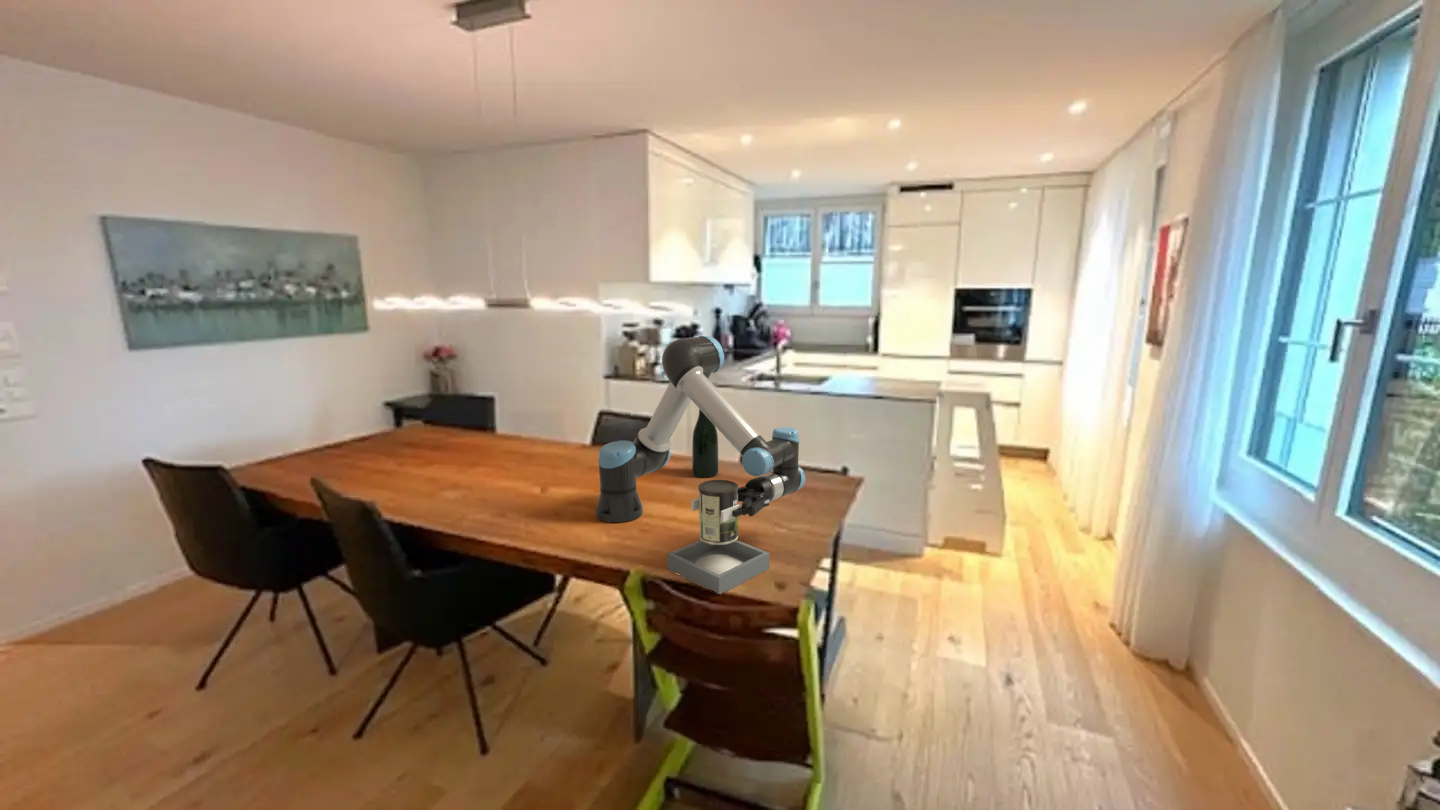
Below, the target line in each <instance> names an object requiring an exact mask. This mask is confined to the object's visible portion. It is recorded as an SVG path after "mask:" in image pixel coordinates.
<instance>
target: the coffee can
mask: <svg viewBox="0 0 1440 810" xmlns="http://www.w3.org/2000/svg"><path fill="white" fill-rule="evenodd" d="M697 487H698V488H697V489H698V498H699V509H698V511H699V512H698V513H699V514H698V516H699V517H698V521H699V522H698V523H699V536H698V538H699V540H701V541H702V542H704V543H707V544H711V545H726V544H730V543H733V542H735V541H736V540H738V538H739V516H738V517H734V518H732V519H730V520H727V521H725V522H721V511H722V510H725V509H728V508H730V507H733V506H735V505H738V503H739V502H738V488H739V484H738V483H736V482H735V481H731V480H727V479H710V480H706V481H703V482H700V483H699V485H698V486H697Z"/></svg>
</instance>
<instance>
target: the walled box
mask: <svg viewBox="0 0 1440 810" xmlns="http://www.w3.org/2000/svg"><path fill="white" fill-rule="evenodd" d="M770 554H771V553H770V552H768V551H767V550H766V551H765V550H763V549H760V548H758V547H756V546H753V545H751V544H747V543H745V542H743V541H741V540H738V539H737V540H736V541H735V542H733V543H730V544H726V545H711V544H707V543H704V542H702V541H701V540H700V539H699V540H697V541H695V542H692V543H689V544H687V545H685V546H683V547H681V548H678V549H676V550H673V551H672V552H668V553H667V570H668V569H669V570H671V571H673V572H675V573H678V574H680V575H681V576H680V575H679V576H680V577H682V576H683V577H682V578H684V577H685V578H684V579H686V578H687V579H686V580H688V579H689V580H688V581H690V580H691V581H690V582H692V581H693V582H692V583H694V582H695V583H694V584H696V583H697V584H696V585H698V584H699V585H698V586H700V585H701V587H702V586H704V587H706V588H709V589H711V590H713V591H715V592H716V593H717V594H716V593H715V594H716V595H718V594H720V595H722V594H724V593H726V592H728V591H729V590H732V589H734V588H735V587H737V586H739V585H742V584H743V583H746V582H747V581H749V580H751V579H753V578H755V577H756V576H759V575H760V574H762V573H764V572H765V571H767V570H770V564H771V563H770V558H771V557H770V556H771V555H770ZM669 570H668V571H669ZM671 571H670V572H671ZM673 572H672V573H673ZM675 573H674V574H675ZM704 587H703V588H704ZM706 588H705V589H706ZM727 590H728V591H727ZM725 591H726V592H725ZM723 592H724V593H723ZM721 593H722V594H721Z"/></svg>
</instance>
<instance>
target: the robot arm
mask: <svg viewBox="0 0 1440 810" xmlns="http://www.w3.org/2000/svg"><path fill="white" fill-rule="evenodd" d="M724 361H725V353H724V349H723V347H722V345H721V344H720V342H719V341H718V340H717V339H716V338H714V337H712V336H708V335H700V336H695V337H694V336H693V337H688V338H687V337H686V338H678V339H676V340H673V341H671V342H670V343H669V344H668V345H667V346H666V347H665V349H664V350H663V352H662V357H661V364H662V369H663V372H664V373H665V376H666V377H667V379H668V381H669V384H668V385H667V388H666V389H665V391H664V393H663V395H662V397H661V399H660V401H659V403H658V404H657V407H656V408H655V411H654V412H653V414H652V416H651V418H650V421H649V422H648V424H647V426H646V427H644V428H641V429H640V430H639V432H638V433H637V435H636V437H635V438H634V440H633V441H631V440H617V441H612V442H608V443H606V444H604V445H603V446H602V447H601V448H600V449H599V451H598V460H597V461H598V462H597V463H598V469H599V471H598V472H599V488H600V490H599V491H600V492H599V495H598V500H597V503H596V506H595V516H597V517H596V518H597V519H598V518H599V519H601V520H604V521H603V522H605V521H609V522H608V523H612V522H619V523H626V522H625V521H627V522H631V521H634V520H636V519H639V518H640V517H641V516H642V515H643V513H644V512H643V509H644V508H643V504H642V500H641V499H640V495H639V493H638V491H637V489H638V488H637V478H639V477H643V476H645V475H648V474H649V473H653V472H656V471H659V470H660V469H662V468H664V467H665V466H666V465H667V464H668V462H669V461H670V458H671V455H672V454H671V451H670V450H671V441H670V439H671V437H672V435H673V434H674V432H675V431H676V428H677V427H678V424H679V422H680V420H681V419H682V417H683V415H684V413H685V412H686V410H687V408H688V406H689V405H690V402H693V404H694V405H695V406H696V407H697V408H698V410H699V409H700V410H701V411H702V412H703V413H704V414H705V415H706V417H707V418H708V419H709V420H710V421H711V422H712V423H713V424H714V425H715V427H716V430H718V431H719V432H720V433H721V434H722V435H723V436H724V438H725V439H726V440H727V441H728V442H729V443H730V444H731V446H733V448H735V450H736V451H737V452H738V453H739V454H740V455H741V457H742V458H741V463H742V464H741V465H742V466H743V469H744V471H745V472H746V473H747V474H749V475H750V476H752V477H754V478H751V479H750V480H748V481H747V482H746V484H745V485H744V486H740V487H738V503H739V502H740V503H741V504H738V505H735V506H733V507H730V508H728V509H725V510H722V511H721V522H725V521H727V520H730V519H732V518H734V517H738V518H739V516H746V515H748V516H749V517H754V516H755V515H756V514H758V513H759V512H761V510H762V509H764V508H765V507H768V506H770V503H771V502H772V501H774V500H776V499H780V498H782V497H785V496H787V495H791V494H793V493H796V492H797V491H799V490H801V489H803V487H804V485H805V483H806V475H805V473H804V469H802V467H800V466H799V450H800V449H799V448H800V447H799V446H800V439H799V434H800V433H799V431H798V429H796V428H793V427H788V426H787V427H783V426H782V427H781V426H780V427H777V428H774V429H773V431H772V436H771V438H772V439H771V440H767V441H766V439H765V438H764V437H763V436H761V435H760V433H759V432H758V431H757V430H756V429H755V428H754V427H753V426H752V425H751V423H749V421H748V420H747V419H746V418H745V417H744V416H743V415H742V414H741V413H740V412H739V411H738V410H737V409H736V407H734V405H733V404H732V403H731V402H730V401H729V400H728V399H727V398H726V397H725V395H724V394H723V393H721V391H720V390H719V389H718V388H717V387H716V386H715V384H713V382H712V381H711V380H710V377H711V375H712V374H715V373H716V372H718V371H720V370H721V369H722V367H723V365H724ZM690 505H691V507H690V508H691V511H692V512H694V511H697V510H698V511H699V497H698V498H695V499H691V500H690ZM599 519H598V520H599ZM601 520H600V521H601ZM630 520H631V521H630Z"/></svg>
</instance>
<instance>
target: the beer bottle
mask: <svg viewBox="0 0 1440 810" xmlns="http://www.w3.org/2000/svg"><path fill="white" fill-rule="evenodd" d="M717 430H718V429H717V428H716V426H715V425H714V424H713V423H712V422H711V421H710V420H709V419H708V418H707V417H706V415H705V414H704V413H703V412H702V411H701V410H700V409H699V408H698V417H697V420H696V423H695V425H694V428H693V432H692V443H691V445H692V446H691V447H692V449H691V451H692V452H691V454H692V455H691V466H692V467H691V470H692V472H691V473H692V475H694V476H695V477H697V476H698V478H713V477H716V476H718V474H719V473H720V471H719V467H720V466H719V465H720V464H719V463H720V462H719V438H718V437H719V435H718V431H717Z"/></svg>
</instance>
